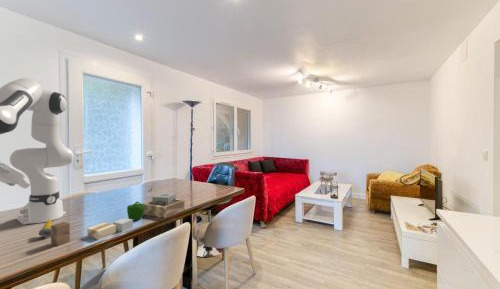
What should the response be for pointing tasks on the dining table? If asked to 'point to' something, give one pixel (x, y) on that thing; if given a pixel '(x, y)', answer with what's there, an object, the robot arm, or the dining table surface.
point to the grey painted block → (123, 224)
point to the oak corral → (163, 208)
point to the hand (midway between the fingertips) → (20, 185)
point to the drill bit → (46, 230)
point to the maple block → (101, 230)
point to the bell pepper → (135, 211)
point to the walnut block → (60, 233)
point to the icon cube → (164, 199)
